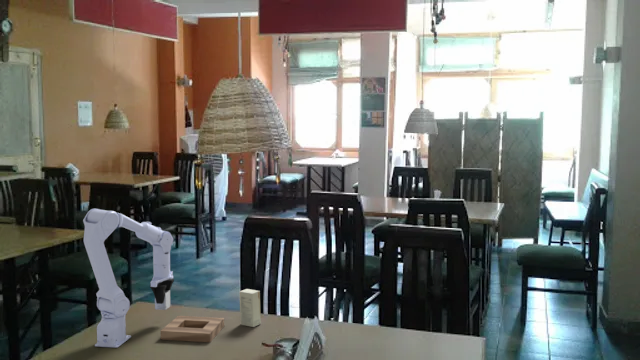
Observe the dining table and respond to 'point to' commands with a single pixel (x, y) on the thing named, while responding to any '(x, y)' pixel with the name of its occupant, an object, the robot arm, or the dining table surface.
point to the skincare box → (250, 307)
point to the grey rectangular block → (166, 301)
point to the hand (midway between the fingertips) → (162, 301)
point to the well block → (192, 329)
